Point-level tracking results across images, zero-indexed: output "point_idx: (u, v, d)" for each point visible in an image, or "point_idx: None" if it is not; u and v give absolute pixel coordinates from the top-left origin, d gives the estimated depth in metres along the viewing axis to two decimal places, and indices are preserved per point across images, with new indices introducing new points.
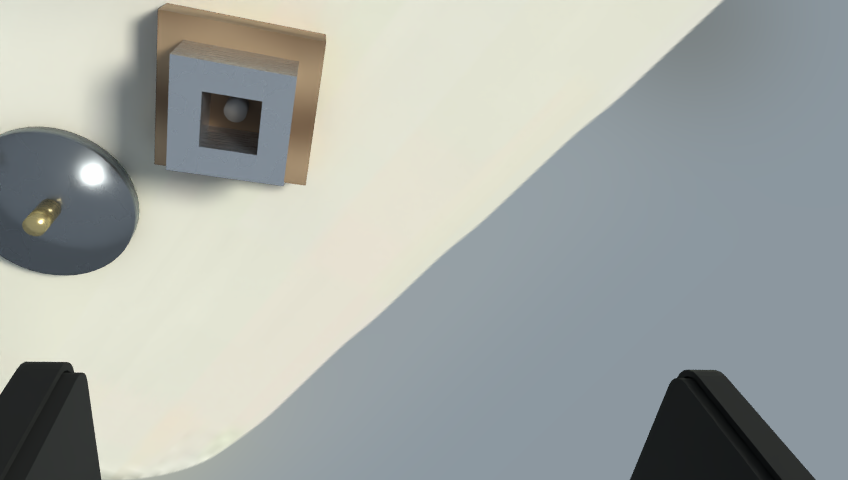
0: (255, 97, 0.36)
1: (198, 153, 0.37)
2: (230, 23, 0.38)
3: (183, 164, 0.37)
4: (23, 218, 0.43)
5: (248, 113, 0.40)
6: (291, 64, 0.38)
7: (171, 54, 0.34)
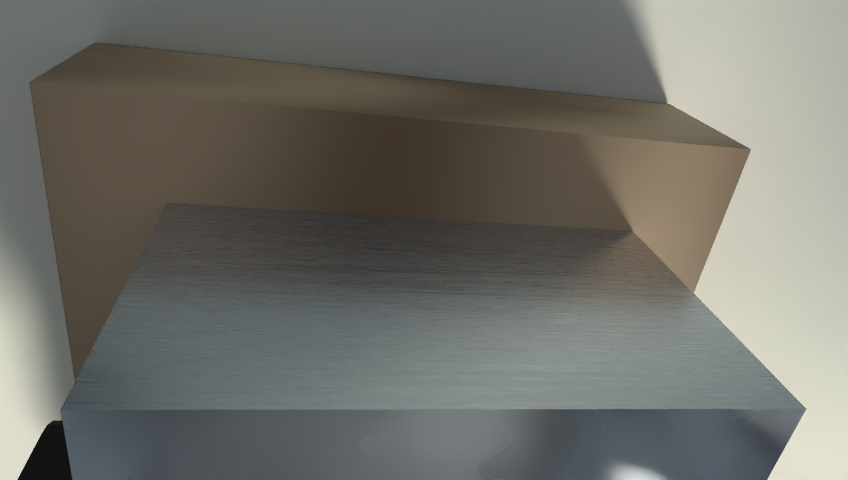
0: None
1: None
2: None
3: None
4: None
5: None
6: None
7: (796, 410, 0.06)
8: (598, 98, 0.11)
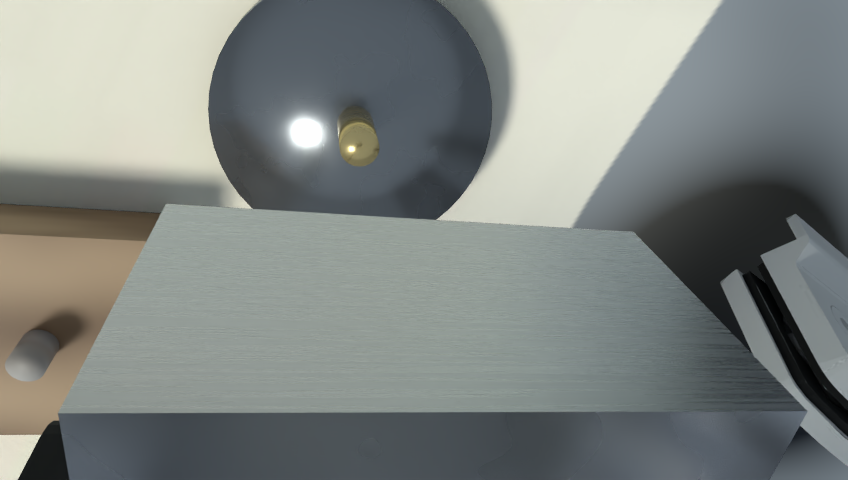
0: None
1: None
2: None
3: None
4: (402, 101, 0.24)
5: (19, 333, 0.25)
6: None
7: (798, 413, 0.06)
8: None
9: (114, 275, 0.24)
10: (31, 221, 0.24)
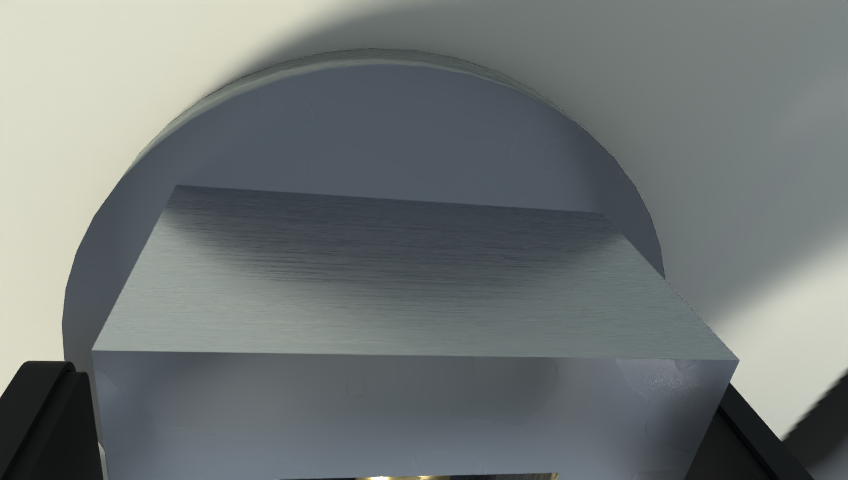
0: None
1: None
2: None
3: (154, 425, 0.06)
4: None
5: None
6: None
7: (732, 362, 0.07)
8: None
9: None
10: None
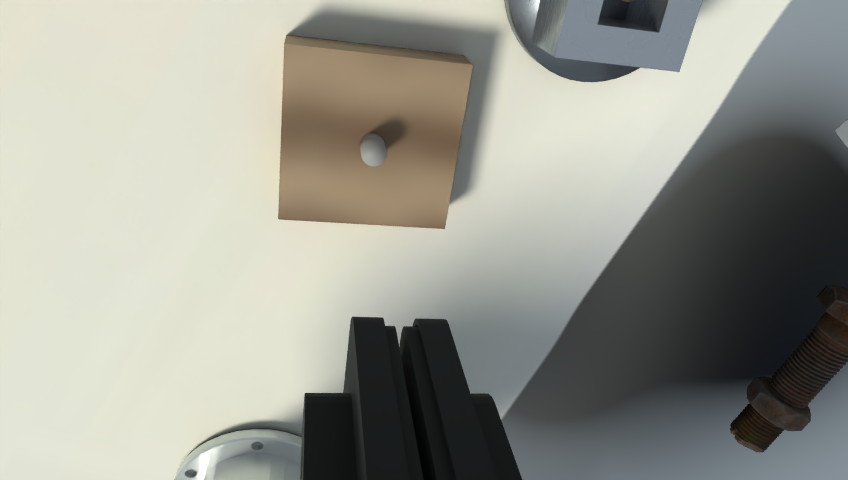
0: (664, 24, 0.31)
1: None
2: (377, 223, 0.37)
3: None
4: None
5: (360, 136, 0.34)
6: None
7: None
8: None
9: (433, 90, 0.34)
10: (378, 50, 0.33)
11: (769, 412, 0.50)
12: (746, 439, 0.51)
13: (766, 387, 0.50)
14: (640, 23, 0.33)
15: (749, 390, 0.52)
